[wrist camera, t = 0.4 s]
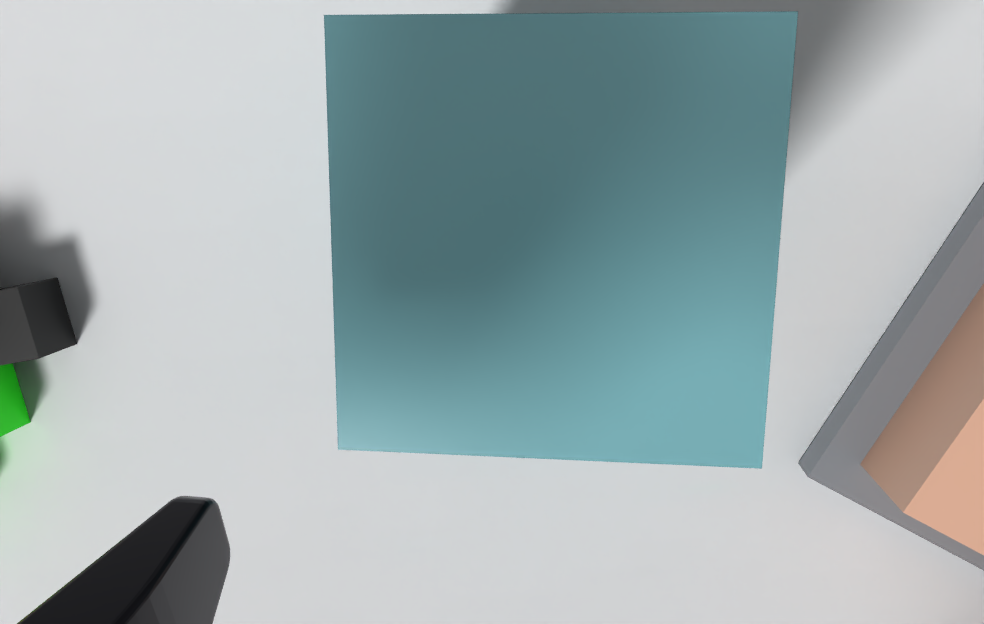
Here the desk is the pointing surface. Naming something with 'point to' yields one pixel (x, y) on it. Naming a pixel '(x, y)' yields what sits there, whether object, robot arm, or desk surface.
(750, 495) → the desk surface
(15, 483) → the desk surface
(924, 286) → the tower base
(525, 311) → the teal brick
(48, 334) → the building blocks
